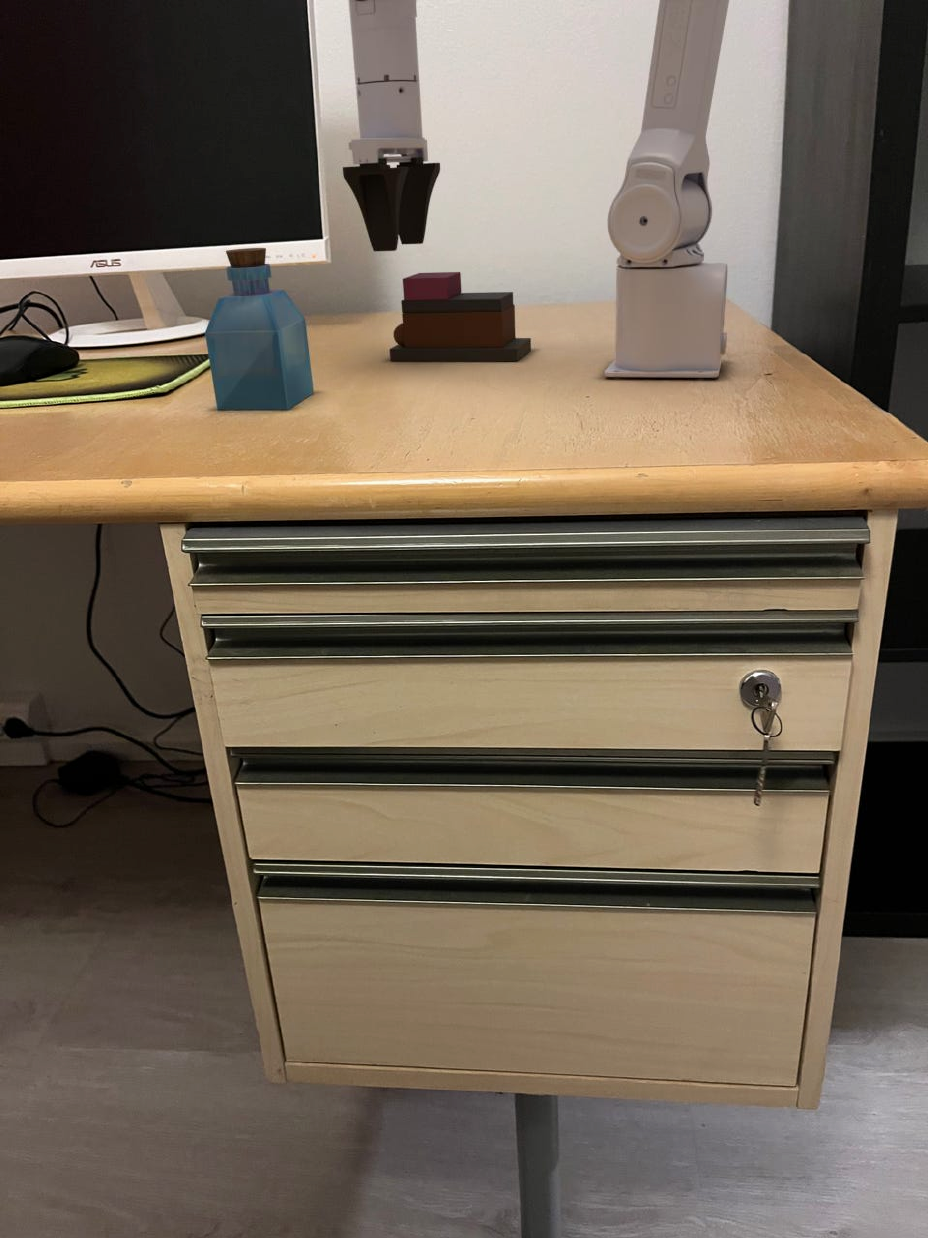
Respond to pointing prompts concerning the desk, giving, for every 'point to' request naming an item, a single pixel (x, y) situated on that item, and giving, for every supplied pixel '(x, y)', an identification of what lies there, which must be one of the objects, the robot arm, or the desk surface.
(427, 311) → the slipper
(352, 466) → the desk surface
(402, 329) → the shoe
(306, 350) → the perfume bottle
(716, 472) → the desk surface
